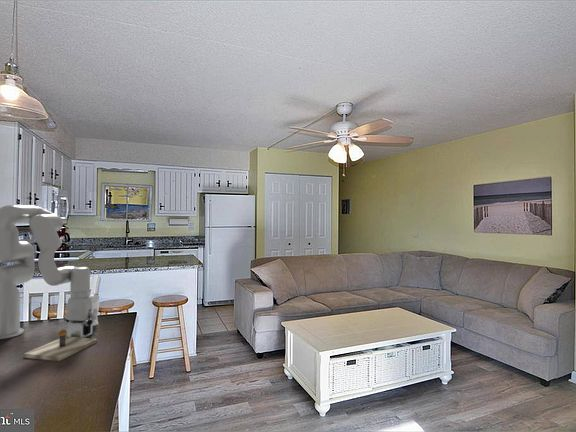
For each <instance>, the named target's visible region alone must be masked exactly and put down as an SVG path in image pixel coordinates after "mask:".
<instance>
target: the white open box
mask: <svg viewBox="0 0 576 432" xmlns="http://www.w3.org/2000/svg"><path fill="white" fill-rule="evenodd" d="M87 322H88V320H87ZM84 326H85V324H84V321H70V322H66V336H67V337H80V338H87V337H90V336H91V335H93V334H94V331H93V329H94V328H93V327H94V326H93V323H92V324H91V333H90V334H87V335H84Z"/></svg>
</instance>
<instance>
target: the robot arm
mask: <svg viewBox="0 0 576 432" xmlns="http://www.w3.org/2000/svg"><path fill="white" fill-rule="evenodd" d="M16 224H28V225H29V228H30V230H31V232H32V235H33V237H34V238H35V241H36V244H37V246H38V248H39V250H40V251H39V255H38V259H37V260H38V261H37V264H38V265H37V266H38V270H39V272H40V274H41V276H42V279H43V280H44V282H45V283H46V284H47V285H49V286H52V287H53V286H54V287H55V286H56V287H57V286H59V285H62V284H68V283H70V286H69V287H70V288H69V290H70V291H69V293H68V294H69V298H68V300H67V306H66V312H65V313H64V315H63V317H64V319H65V321H66V323H68V322H70V321H84V324H85V326H84V335H87V334H90V333H91V324H92V323H93V322H94V320H95V319H96V318H97V319H98V316H97V317H96V316H95V315H94V314H93V313H92V301H91V297H90V294H91V292H90V291H91V290H90V289H91V286H90V285H91V270H90V269H91V268H89V267H88V266H74V265H66V266H60V267H57V265H56V262H55V253H56V252H57V250H58V249H59V248H60V247H61V246H62V244H63V243H62V240H61V239H60V236H59V233H58V231H61V230H62V228H63V225H64V222H63V220H62V218H61V217H60V216H59V215H58V214H56V213H54V212H52V211H50V210H46V209H45V208H43V207H39V206H36V205H30V204H28V205H27V204H7V205H4V206H1V207H0V263H2V264H7V263H8V264H7V265H3V266H0V340H4V339H5V340H6V339H10V338H14V337H18V336H21V335H23V334H24V332H25V329H24V328H22V327H21V294H20V291H19V289H18V287H17V285H20V284H24V283H27V282H29V281H31V280H32V279H33V277H34V274H35V249H34V246H33V245H32V244H31V242H28V241H26V240H20V233H19V229H18V228H17V225H16ZM9 263H13V264H9ZM90 318H91V319H90ZM87 320H88V322H87Z"/></svg>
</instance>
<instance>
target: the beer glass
mask: <svg viewBox="0 0 576 432" xmlns="http://www.w3.org/2000/svg"><path fill="white" fill-rule="evenodd" d="M90 297H91V301H92V313H93V314H94V315H95V316H96V317H97V318H96V319H95V320H94V322H93V327H95V326H98V325H99V321H98V320H99V319H98V315H99V309H100V294H99V293H90ZM90 319H91V318H90Z"/></svg>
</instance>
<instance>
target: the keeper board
mask: <svg viewBox="0 0 576 432" xmlns="http://www.w3.org/2000/svg"><path fill="white" fill-rule="evenodd" d="M58 336H59V338H58V339H55V340H52V341H50V342H48V343H46V344H44V345H42V346H39V347H36V348H33V349H32V350H29V351H27V352H25V353H23V358H24V359H25V358H26V359H35V360H36V359H37V360H46V361H55V362H60V361H62V360H64V359H66V358H69V357H70V356H72V355H75V354H76V353H78V352H80V351H83V350H84V349H86V348H89V347H91V346H92V345H95V344H97V342H98V338H91V337H90V338H89V337H88V338H87V337H85V338H80V337H67V330H65V329H61V330H59V331H58Z"/></svg>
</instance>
